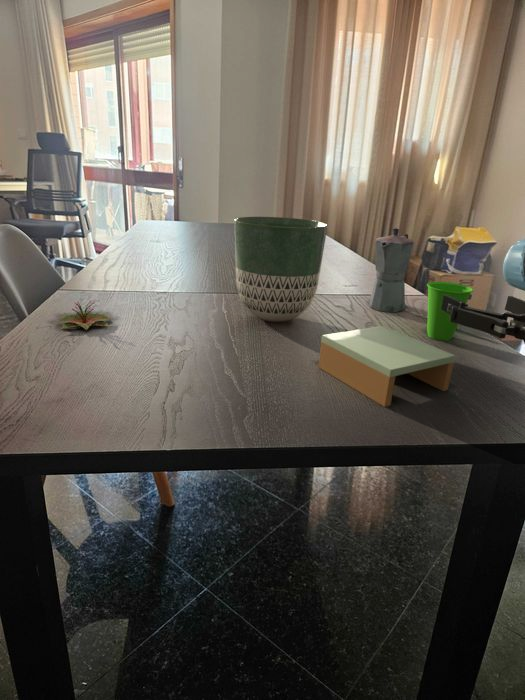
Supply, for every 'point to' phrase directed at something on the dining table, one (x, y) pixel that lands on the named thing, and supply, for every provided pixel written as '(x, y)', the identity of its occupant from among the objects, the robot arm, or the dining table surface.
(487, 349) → the dining table surface
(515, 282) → the robot arm
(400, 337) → the shelf
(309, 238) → the planter
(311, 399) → the dining table surface
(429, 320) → the cup
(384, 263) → the moka pot
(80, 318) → the lily flower
